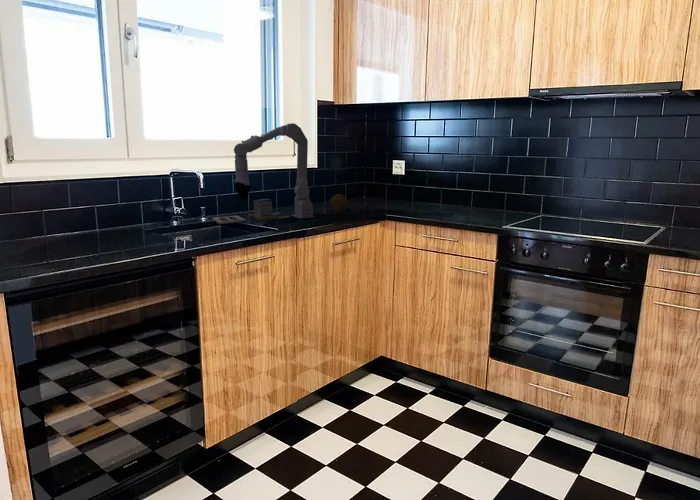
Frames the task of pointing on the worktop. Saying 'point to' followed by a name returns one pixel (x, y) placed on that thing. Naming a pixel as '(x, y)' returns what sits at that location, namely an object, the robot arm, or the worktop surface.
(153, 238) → the worktop surface
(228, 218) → the plate
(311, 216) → the robot arm
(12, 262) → the worktop surface
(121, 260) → the worktop surface
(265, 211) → the medicine box
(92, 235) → the worktop surface
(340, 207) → the natural sponge
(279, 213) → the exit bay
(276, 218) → the channel rails
